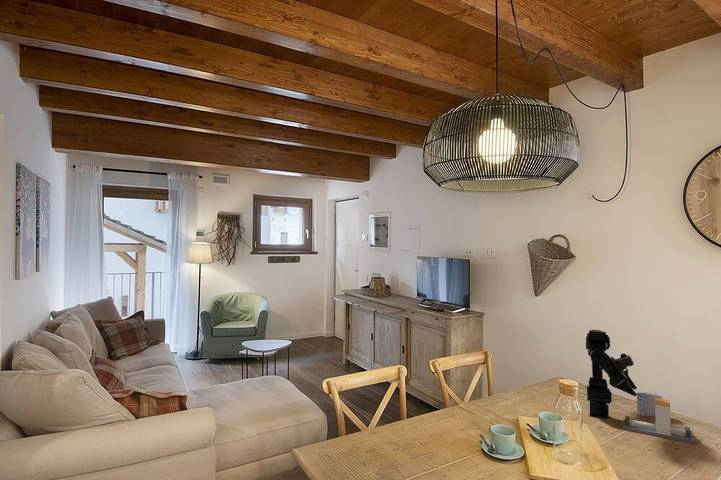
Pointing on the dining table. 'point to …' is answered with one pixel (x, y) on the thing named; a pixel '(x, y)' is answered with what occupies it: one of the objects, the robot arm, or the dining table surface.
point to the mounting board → (651, 430)
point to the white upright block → (662, 416)
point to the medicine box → (646, 403)
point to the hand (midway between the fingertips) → (636, 392)
